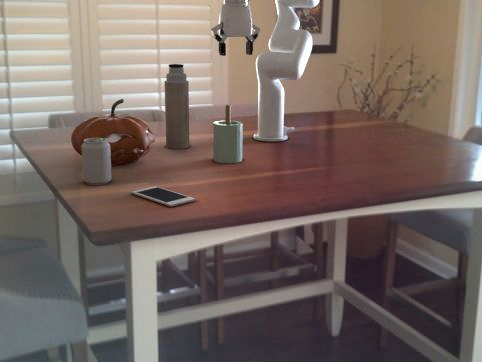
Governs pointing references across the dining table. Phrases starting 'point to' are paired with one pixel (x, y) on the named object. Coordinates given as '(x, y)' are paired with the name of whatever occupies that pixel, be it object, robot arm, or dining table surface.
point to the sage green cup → (227, 141)
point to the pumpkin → (116, 135)
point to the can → (96, 161)
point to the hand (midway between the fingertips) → (236, 55)
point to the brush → (227, 114)
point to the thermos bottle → (177, 108)
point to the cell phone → (163, 196)
